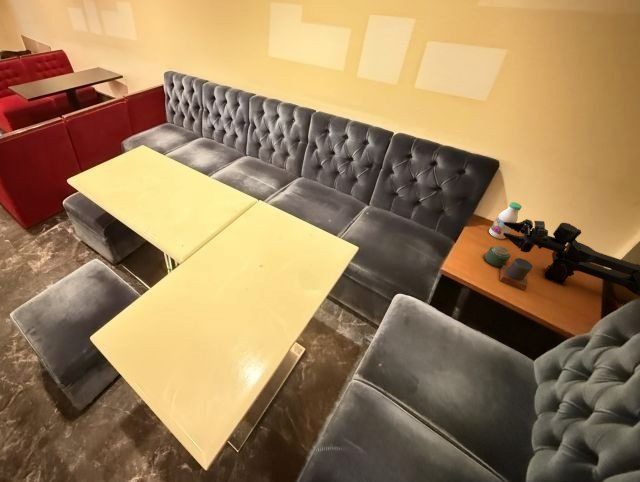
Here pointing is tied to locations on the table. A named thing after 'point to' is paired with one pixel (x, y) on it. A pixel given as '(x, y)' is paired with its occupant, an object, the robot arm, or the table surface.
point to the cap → (519, 269)
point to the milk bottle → (505, 220)
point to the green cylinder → (497, 256)
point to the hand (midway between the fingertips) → (503, 228)
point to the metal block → (507, 279)
